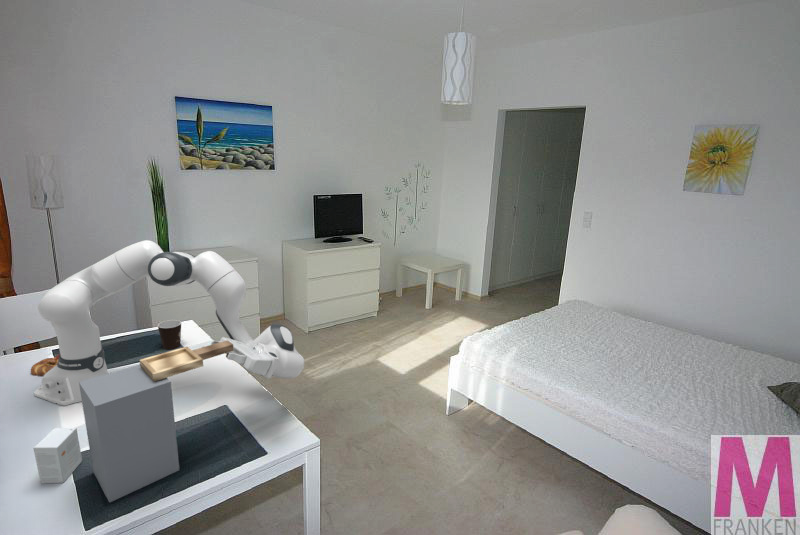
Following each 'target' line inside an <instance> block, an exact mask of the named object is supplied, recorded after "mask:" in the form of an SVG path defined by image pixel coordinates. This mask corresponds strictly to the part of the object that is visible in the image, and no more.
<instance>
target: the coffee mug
mask: <svg viewBox="0 0 800 535" xmlns="http://www.w3.org/2000/svg"><path fill="white" fill-rule="evenodd" d="M157 328H158V333H159V337H160V341H161V345H162V349H163V350H166V351H173V350H176V349H179V348H180V347H181V342H182V341H181V335H182V321H181V320H177V319H169V320H164V321H163V320H162V321H161V322H159V323H158V324H157Z"/></svg>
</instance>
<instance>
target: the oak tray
mask: <svg viewBox="0 0 800 535" xmlns="http://www.w3.org/2000/svg"><path fill="white" fill-rule="evenodd" d="M231 351H234V350H233V344H232V343H231V342H229V341H228V340H227V341H223V342H220V343H216V344H213V345H211V344H209V345H205V346H201V347H200V348H196V349H193V350H192V349H191V348H190V347H188V346H183V347H181V348H180V347H179V348H176V349H172V350H168V351H166V352H163V353H159V354H156V355H152V356H148V357H144V358H140V359H139V365H140V367H141V368H142V369H143V370H144V371H145V372H146V373H147V374H148V376H149V377H150V378H151V379H152V380H153V381H154V382H155V381H158V380H161V379H164V378H170V377H173V376H176V375H179V374H183V373H187V372H189V371H192V370H195V369H199V368H201V367H204V360H207V359H211V358H214V357H218V356H221V355H224V354H225V353H227V352H231ZM225 355H226V354H225Z"/></svg>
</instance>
